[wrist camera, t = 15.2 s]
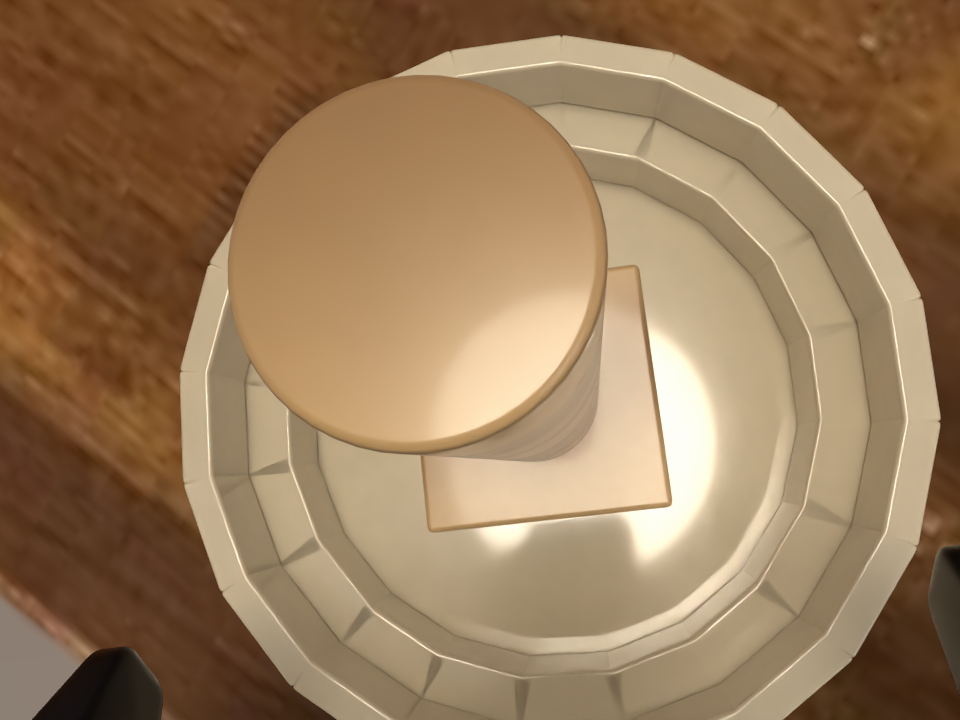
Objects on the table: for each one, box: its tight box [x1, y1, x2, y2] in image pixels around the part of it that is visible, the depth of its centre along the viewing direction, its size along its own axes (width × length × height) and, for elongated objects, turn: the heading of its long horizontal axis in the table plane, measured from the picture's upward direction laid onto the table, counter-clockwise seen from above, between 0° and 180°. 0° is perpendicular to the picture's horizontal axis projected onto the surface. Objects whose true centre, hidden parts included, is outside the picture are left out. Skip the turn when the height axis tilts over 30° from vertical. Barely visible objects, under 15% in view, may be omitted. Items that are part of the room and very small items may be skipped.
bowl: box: [180, 35, 940, 720], centre depth 17 cm, size 13×13×4 cm
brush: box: [228, 75, 673, 533], centre depth 11 cm, size 4×4×14 cm
